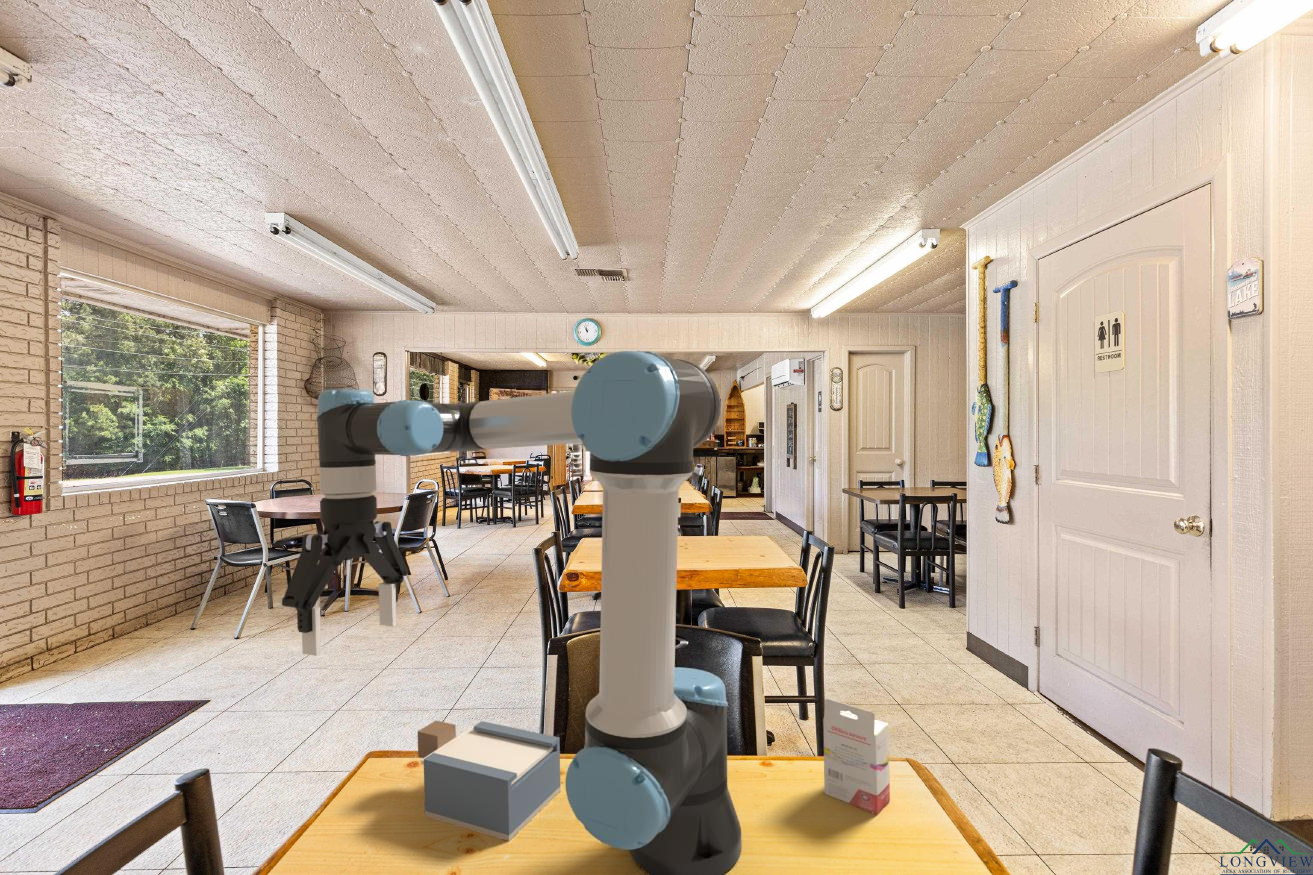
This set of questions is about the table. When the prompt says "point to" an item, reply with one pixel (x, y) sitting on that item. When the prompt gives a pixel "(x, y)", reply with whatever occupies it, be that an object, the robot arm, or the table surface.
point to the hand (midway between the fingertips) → (352, 638)
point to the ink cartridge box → (856, 756)
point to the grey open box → (491, 788)
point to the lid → (480, 748)
